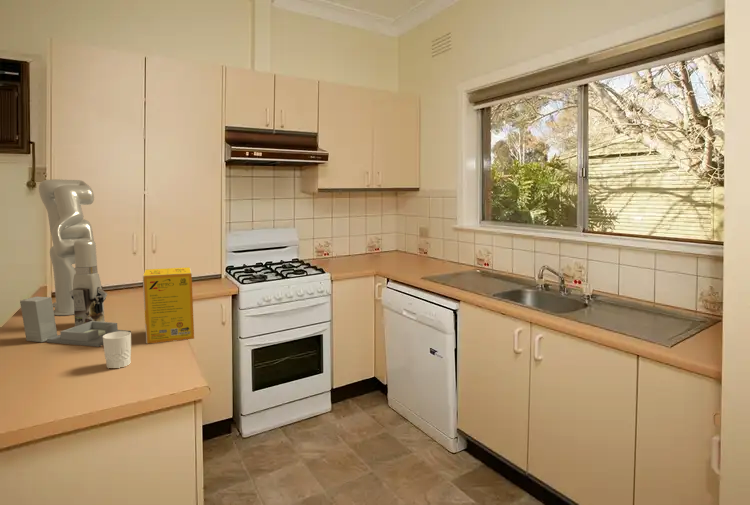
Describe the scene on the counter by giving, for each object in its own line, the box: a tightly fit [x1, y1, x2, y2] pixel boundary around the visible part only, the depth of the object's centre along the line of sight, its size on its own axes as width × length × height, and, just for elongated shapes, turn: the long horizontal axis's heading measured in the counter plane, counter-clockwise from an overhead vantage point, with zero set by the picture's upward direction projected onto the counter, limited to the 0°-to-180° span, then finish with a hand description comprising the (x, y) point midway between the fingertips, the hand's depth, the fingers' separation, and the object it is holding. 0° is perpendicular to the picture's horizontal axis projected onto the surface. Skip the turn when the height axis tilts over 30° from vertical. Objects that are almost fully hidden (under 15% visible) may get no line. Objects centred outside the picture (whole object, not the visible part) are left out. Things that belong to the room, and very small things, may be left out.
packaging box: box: [142, 266, 195, 344], centre depth 179 cm, size 16×16×25 cm
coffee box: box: [73, 285, 106, 327], centre depth 191 cm, size 9×6×16 cm
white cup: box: [102, 330, 132, 369], centre depth 148 cm, size 8×8×10 cm
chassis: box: [46, 321, 132, 347], centre depth 176 cm, size 22×16×4 cm
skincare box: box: [19, 296, 58, 343], centre depth 172 cm, size 8×7×16 cm
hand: (89, 312), depth 191 cm, fingers open, 8 cm apart
